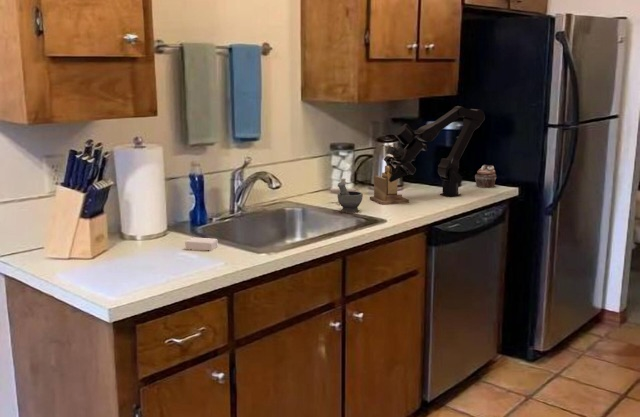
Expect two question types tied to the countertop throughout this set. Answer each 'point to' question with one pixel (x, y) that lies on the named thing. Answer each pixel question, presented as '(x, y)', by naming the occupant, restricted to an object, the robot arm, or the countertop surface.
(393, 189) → the bronze perfume bottle
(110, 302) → the countertop surface
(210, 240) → the soap
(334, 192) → the pipe connector
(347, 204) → the mortar and pestle
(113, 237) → the countertop surface
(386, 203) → the bronze stepped stand
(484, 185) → the cupcake
